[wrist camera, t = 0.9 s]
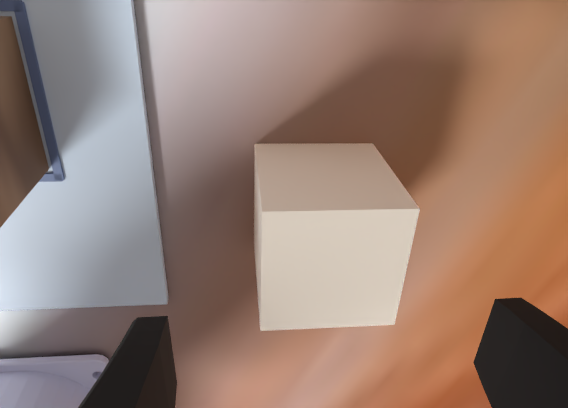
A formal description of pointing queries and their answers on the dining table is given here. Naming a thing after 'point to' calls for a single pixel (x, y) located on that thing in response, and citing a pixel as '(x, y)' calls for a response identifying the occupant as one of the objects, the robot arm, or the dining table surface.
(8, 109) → the walnut base block
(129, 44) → the board
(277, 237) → the ivory block
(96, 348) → the dining table surface
